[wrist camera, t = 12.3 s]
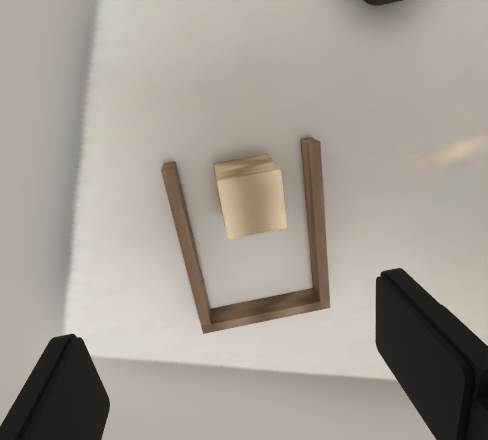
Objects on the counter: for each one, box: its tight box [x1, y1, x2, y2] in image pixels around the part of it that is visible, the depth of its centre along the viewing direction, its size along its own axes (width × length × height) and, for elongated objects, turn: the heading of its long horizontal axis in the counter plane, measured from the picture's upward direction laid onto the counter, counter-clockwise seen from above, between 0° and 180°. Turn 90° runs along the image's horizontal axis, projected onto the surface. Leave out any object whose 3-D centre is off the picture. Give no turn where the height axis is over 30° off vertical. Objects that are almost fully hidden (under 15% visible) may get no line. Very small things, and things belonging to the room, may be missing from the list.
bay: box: [161, 137, 330, 334], centre depth 39 cm, size 16×21×3 cm
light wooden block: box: [214, 155, 287, 239], centre depth 35 cm, size 6×6×7 cm
